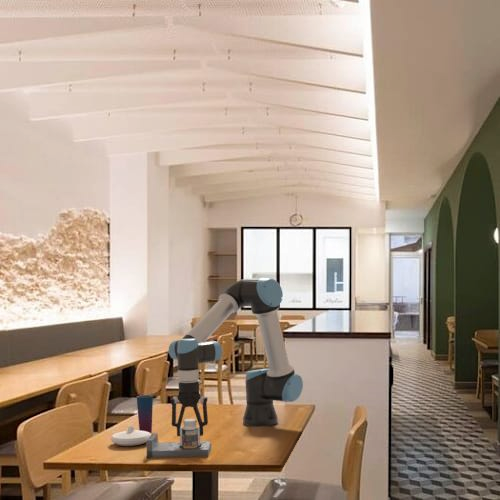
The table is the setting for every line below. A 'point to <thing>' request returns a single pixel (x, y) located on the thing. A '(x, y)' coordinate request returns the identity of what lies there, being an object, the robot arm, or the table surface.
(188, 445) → the pill bottle
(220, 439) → the table surface
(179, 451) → the jig
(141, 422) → the cup
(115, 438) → the lid
